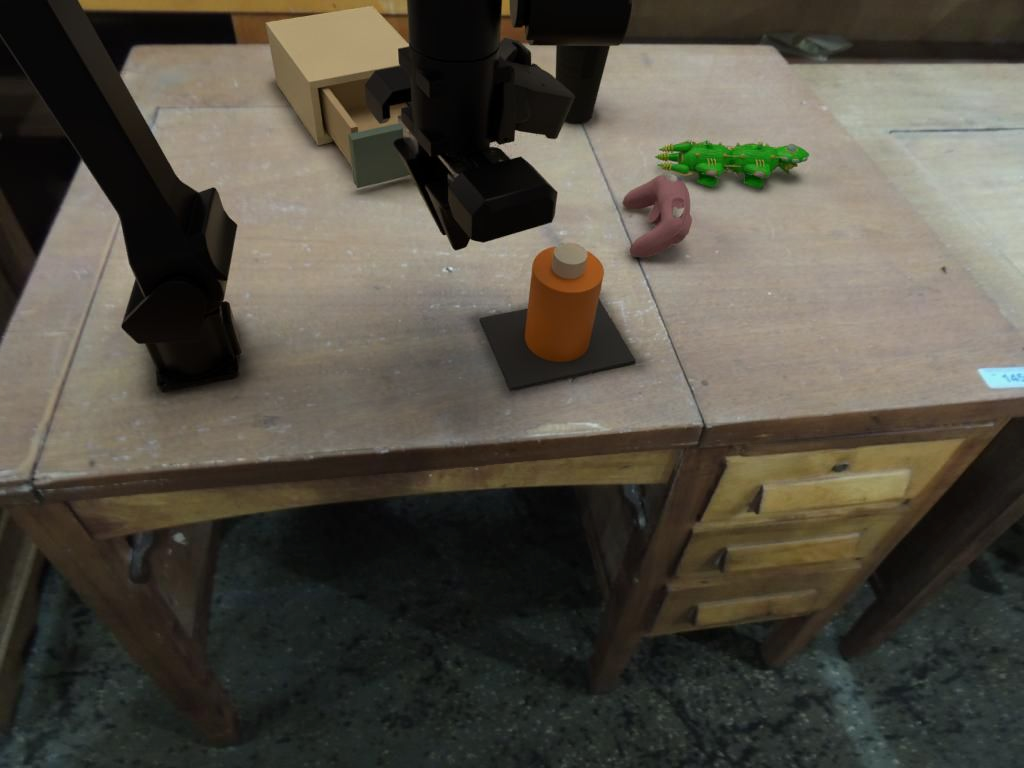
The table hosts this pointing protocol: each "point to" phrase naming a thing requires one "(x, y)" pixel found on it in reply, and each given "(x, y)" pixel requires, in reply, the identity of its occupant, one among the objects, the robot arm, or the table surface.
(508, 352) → the mat
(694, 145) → the crocodile figurine
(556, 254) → the orange bottle
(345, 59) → the cabinet
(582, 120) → the drinking cup
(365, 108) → the drawer
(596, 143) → the table surface
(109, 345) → the table surface
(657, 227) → the video game controller
